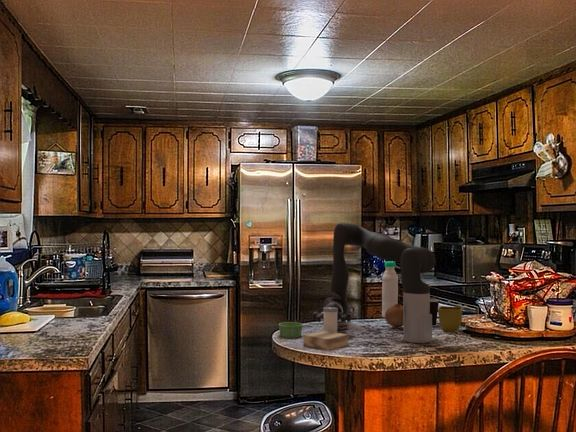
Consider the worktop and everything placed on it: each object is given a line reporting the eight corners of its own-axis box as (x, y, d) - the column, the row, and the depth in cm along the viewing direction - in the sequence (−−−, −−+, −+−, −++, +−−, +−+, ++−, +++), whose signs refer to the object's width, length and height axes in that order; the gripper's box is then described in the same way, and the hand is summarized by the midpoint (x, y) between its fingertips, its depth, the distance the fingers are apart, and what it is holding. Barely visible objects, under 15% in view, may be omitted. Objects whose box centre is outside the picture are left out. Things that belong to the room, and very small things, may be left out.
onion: (411, 330, 217) (411, 305, 217) (387, 330, 217) (387, 304, 217) (406, 326, 227) (406, 301, 227) (383, 325, 227) (383, 301, 227)
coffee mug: (439, 326, 226) (439, 302, 226) (418, 325, 228) (418, 301, 228) (437, 321, 237) (437, 298, 237) (417, 320, 239) (417, 297, 239)
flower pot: (437, 331, 215) (437, 308, 215) (440, 328, 223) (440, 305, 223) (461, 333, 211) (461, 310, 211) (462, 329, 219) (462, 307, 220)
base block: (348, 344, 191) (348, 334, 191) (328, 350, 183) (328, 339, 183) (323, 340, 198) (323, 330, 198) (303, 344, 190) (303, 334, 190)
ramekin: (274, 337, 204) (274, 325, 204) (284, 332, 212) (284, 321, 212) (296, 339, 200) (296, 327, 200) (306, 334, 208) (306, 323, 208)
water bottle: (399, 316, 249) (399, 261, 250) (395, 319, 243) (395, 262, 243) (384, 315, 252) (384, 260, 253) (380, 318, 246) (380, 261, 246)
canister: (340, 338, 202) (340, 308, 202) (331, 340, 198) (331, 309, 198) (329, 336, 206) (329, 306, 206) (320, 338, 202) (320, 307, 202)
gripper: (315, 302, 220) (311, 308, 204) (351, 303, 218) (350, 309, 202) (315, 321, 220) (311, 329, 204) (351, 322, 218) (350, 330, 202)
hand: (330, 319), depth 203 cm, fingers open, 8 cm apart
